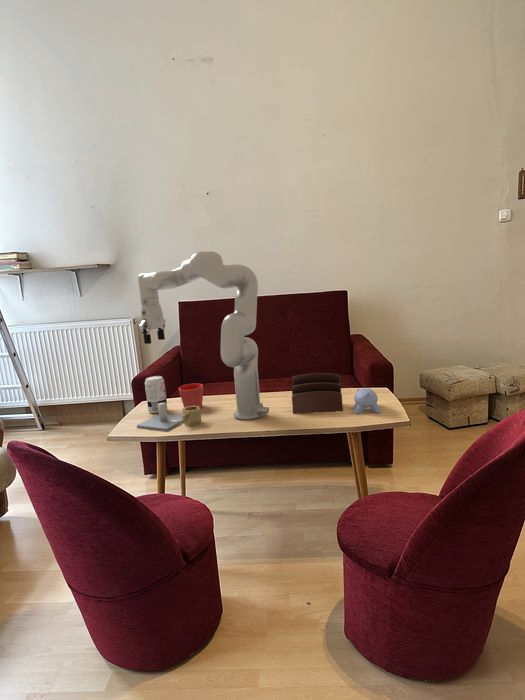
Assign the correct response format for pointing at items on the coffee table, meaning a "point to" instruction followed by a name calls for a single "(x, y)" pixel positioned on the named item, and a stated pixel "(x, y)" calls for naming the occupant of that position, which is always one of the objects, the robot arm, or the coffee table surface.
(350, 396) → the coffee table surface
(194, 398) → the flower pot
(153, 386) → the supplement can
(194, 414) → the cup
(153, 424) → the post base
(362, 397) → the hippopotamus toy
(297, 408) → the letter holder
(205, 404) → the coffee table surface
